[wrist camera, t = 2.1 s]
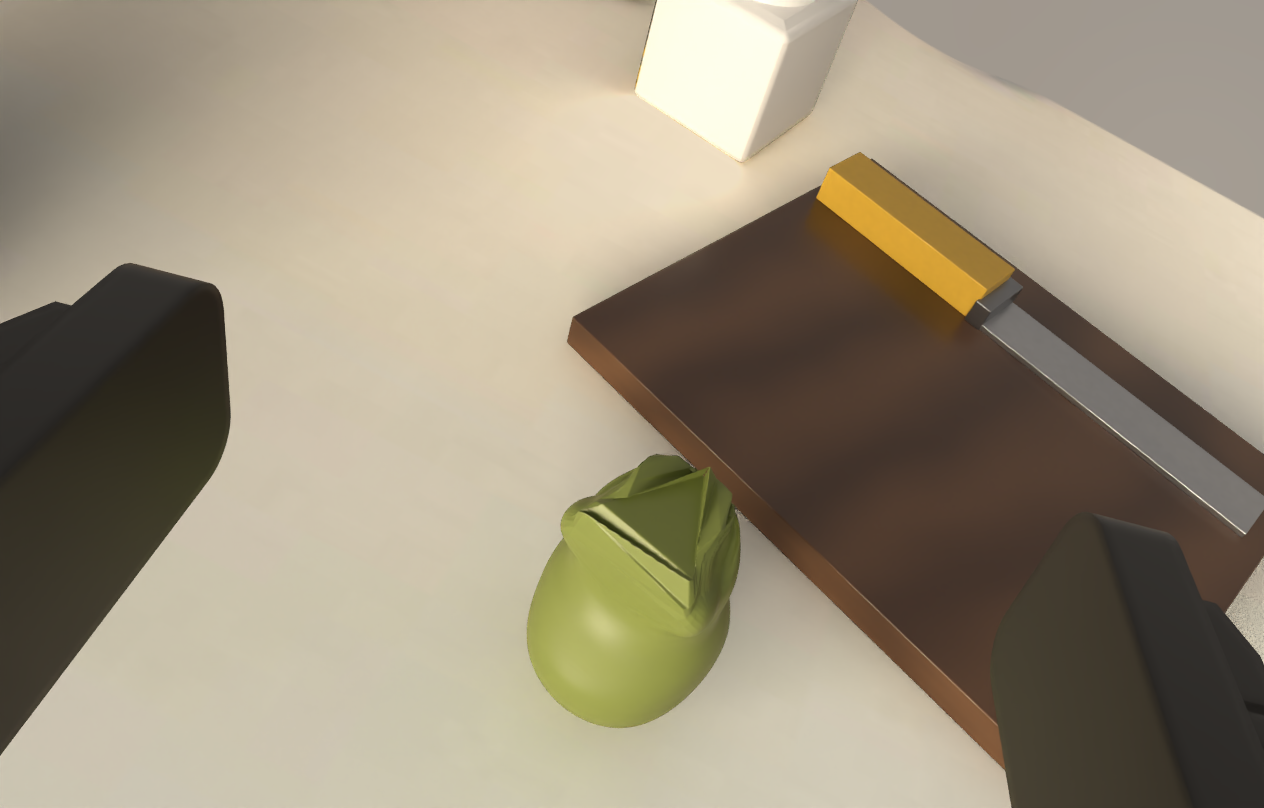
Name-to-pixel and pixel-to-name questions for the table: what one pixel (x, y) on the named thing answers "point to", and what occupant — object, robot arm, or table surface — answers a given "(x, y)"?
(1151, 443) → the knife
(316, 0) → the table surface
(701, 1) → the medicine bottle
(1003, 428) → the cutting board
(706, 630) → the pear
